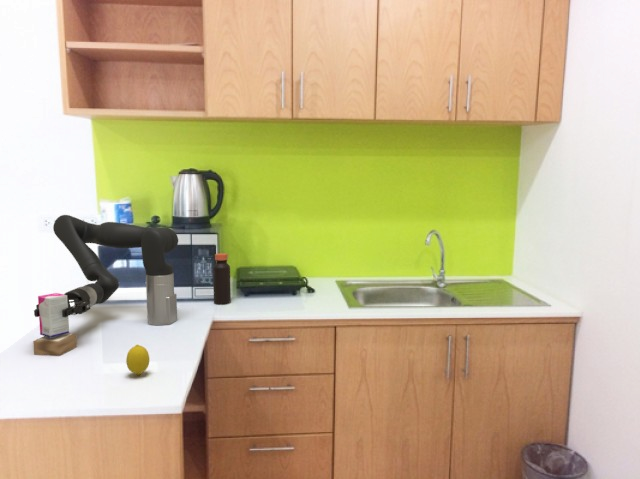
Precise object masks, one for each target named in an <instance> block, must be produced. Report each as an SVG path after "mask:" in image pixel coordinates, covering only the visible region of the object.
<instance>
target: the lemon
mask: <svg viewBox="0 0 640 479" xmlns="http://www.w3.org/2000/svg"><path fill="white" fill-rule="evenodd" d="M125 359H126V362H125V363H126V366H127V369H128V370H129V371H130V372H131V373H133V374H136V376H140V375H141V374H142V373H144V372H145V371H146V370H147V369H148V367H149V364H150V354H149V351H148V350H147V348H146V347H144V346H142V345H140V344H135V345H134V346H132V347H131V348H130V349H129V350H128V352H127V354H126V358H125Z"/></svg>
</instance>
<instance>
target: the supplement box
mask: <svg viewBox="0 0 640 479" xmlns="http://www.w3.org/2000/svg"><path fill="white" fill-rule="evenodd" d="M64 294H65V293H59V292H54V293H49V294H44V295H38V296H37V300H38V301H37V303H38V304H37V305H39V317H38V318H39V335H41V336H42V337H43V336H47V337H50V338H52V337H56V336H59V335H63V334H70V324H69V320H70V319H69V316H67V317H62V310H63V309H65V308H68V302H67V295H64Z"/></svg>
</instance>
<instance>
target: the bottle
mask: <svg viewBox="0 0 640 479" xmlns="http://www.w3.org/2000/svg"><path fill="white" fill-rule="evenodd" d="M228 257H229V256H228V253H225V252H223V253H216V254H214V260H215V264H214V265H213V266H212V276H213V277H212V281H213V282H212V283H213V285H212V286H213V303H214V305H228V304H230V303H231V301H232V299H231V296H232V293H231V266H230V265H229V264H228Z"/></svg>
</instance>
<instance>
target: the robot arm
mask: <svg viewBox="0 0 640 479" xmlns="http://www.w3.org/2000/svg"><path fill="white" fill-rule="evenodd" d="M52 227H53V233H54V235H55V236H56V237H57V238H58V240H59V241H61V243H62V244H63V245H64V246H65V248H66V249H67V250H68V251H69V253H70V255H71V256H72V257H73V258H74V260H75V261H76V263H77V264H78V266H79V268H80V270H81V271H82V273H83V275H84V277H85V279H86V280H88V281H89V282H91V283H88V284H85V285H83V286H79V287H76V288H74V289H71V290H69V291H67V292H65V293H63V294H64V295H67V302H68V308H65V309H63V310H62V317H67V316H68V317H69V316H75V315H82V314H84V313H86V312H88V311H89V310H91V308H92V307H93V306H94V305H97V304H99V305H100V304H101V305H102V304H104V303H105V302H106V301H108V300H109V299H110V297H111V296H113V294H115V292H116V291H117V290H118V289H119V286H120V282H119V279H118V278H117V277H116V276H114V274H112V273H111V272H110V271H109V270H108V269H107V268H106V267H105V266H104V264H103V262H102V261H101V259H100V258H99V256H98V255H97V253H96V252H95V251H94V250H93V249H92V248H91V247H90V246H89V245H87V244H96V245H97V246H98V245H99V246H103V247H108V248H113V249H136V248H141V256H142V265H143V268H144V270H145V285H146V286H145V289H146V292H145V293H146V312H147V318H146V319H147V324H149V325H151V326H165V325H171V324H173V323H175V322H176V321H178V303H177V302H178V301H177V298H178V297H177V293H175V283H174V282H175V280H174V277H175V276H174V266H173V264H171V263H168V262H167V261H166V260H165V259H166V258H165V254H169V253H171V252H172V251H174V250H175V249H176V248H177V246H178V244H179V238H178V235H177V233H176V232H175V231H174V230H173V229H171V228H170V227H166V226H161V227H147V226H146V227H145V226H140V225H135V224H130V223H123V222H115V221H106V222H103V223H100V224H95V223H90V222H87V221H85V220H82V219H79V218H77V217H75V216H72V215H69V214H62V215H59V216H58V217H57V218H56V220H55V221H54V223H53V226H52ZM92 282H93V283H92ZM33 313H34V314H33V316H34V318H39V305H38V304H36V308H35V309H34V310H33Z"/></svg>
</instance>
